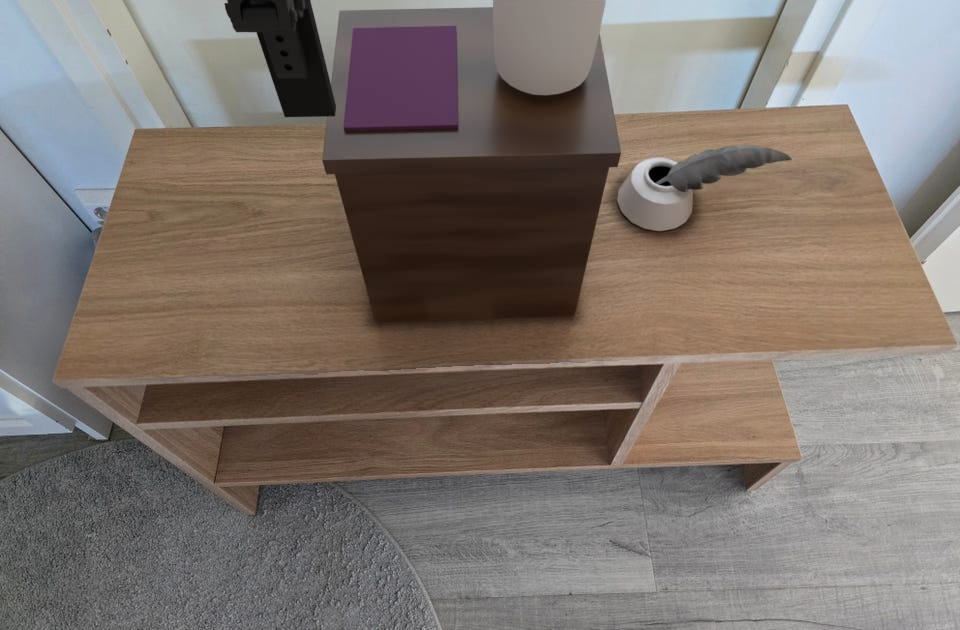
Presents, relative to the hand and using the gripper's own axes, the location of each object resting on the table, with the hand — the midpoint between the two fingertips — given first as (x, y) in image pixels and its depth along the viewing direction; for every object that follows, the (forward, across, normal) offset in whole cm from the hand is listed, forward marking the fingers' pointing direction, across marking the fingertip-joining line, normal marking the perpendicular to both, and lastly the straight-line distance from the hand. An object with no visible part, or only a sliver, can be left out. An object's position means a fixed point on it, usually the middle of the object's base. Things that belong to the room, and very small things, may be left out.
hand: (322, 30), depth 40 cm
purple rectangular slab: (+13, +11, -3) cm, 17 cm away
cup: (+13, +11, -15) cm, 22 cm away
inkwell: (+39, +18, -35) cm, 56 cm away
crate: (+39, +11, -9) cm, 41 cm away
